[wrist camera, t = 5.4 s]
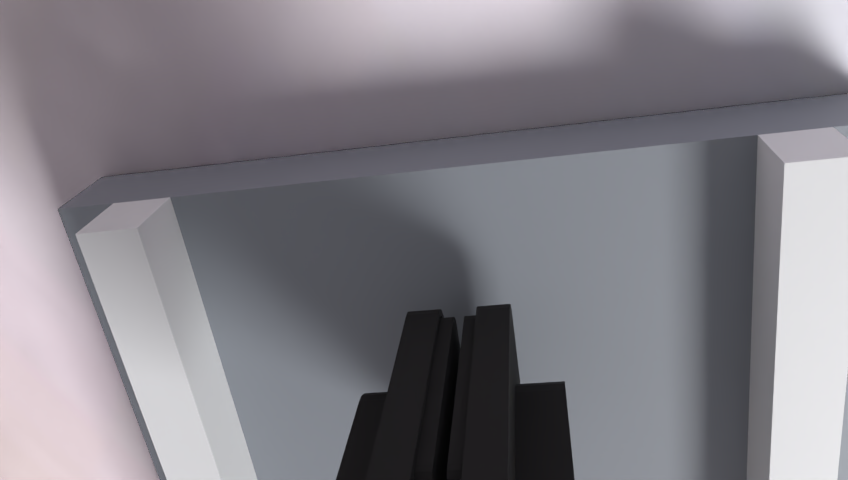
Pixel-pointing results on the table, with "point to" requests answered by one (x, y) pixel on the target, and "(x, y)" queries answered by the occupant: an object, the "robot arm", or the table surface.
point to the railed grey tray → (495, 290)
